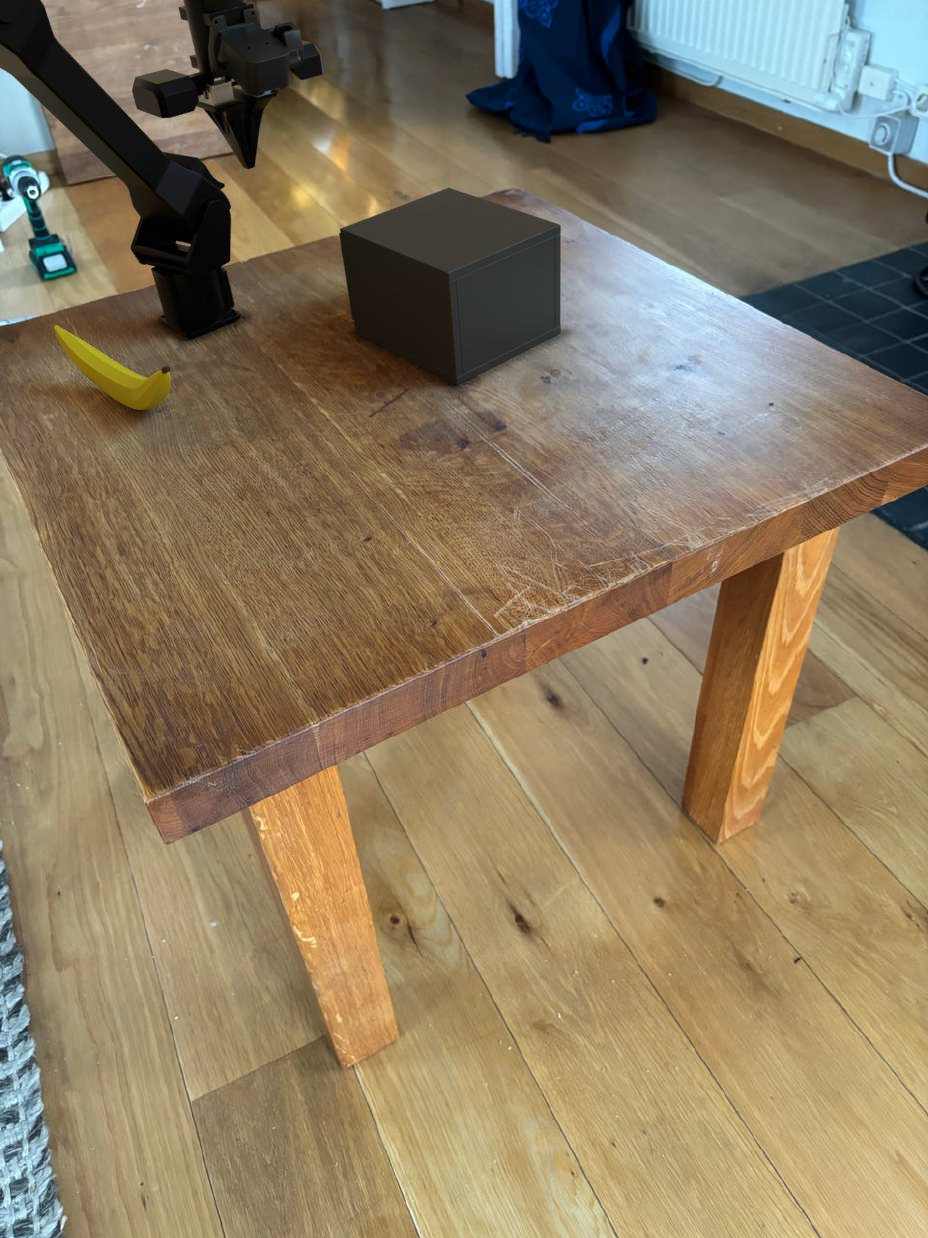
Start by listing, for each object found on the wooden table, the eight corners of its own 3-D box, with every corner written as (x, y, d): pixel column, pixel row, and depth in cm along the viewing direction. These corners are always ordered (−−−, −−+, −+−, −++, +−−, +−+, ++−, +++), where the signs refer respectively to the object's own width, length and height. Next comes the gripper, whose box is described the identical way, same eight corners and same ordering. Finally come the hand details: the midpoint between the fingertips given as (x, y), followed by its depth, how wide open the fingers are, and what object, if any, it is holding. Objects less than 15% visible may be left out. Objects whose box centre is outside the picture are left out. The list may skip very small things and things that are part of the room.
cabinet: (355, 333, 98) (339, 228, 91) (456, 289, 104) (448, 187, 97) (457, 385, 89) (448, 272, 82) (560, 333, 95) (561, 224, 88)
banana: (85, 365, 96) (63, 305, 92) (200, 424, 87) (181, 360, 82) (59, 377, 95) (35, 316, 91) (173, 439, 85) (153, 374, 81)
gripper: (166, 23, 82) (211, 211, 92) (343, -19, 90) (366, 158, 101) (107, 9, 88) (155, 186, 99) (277, -29, 96) (305, 138, 107)
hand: (249, 167), depth 101 cm, fingers closed
